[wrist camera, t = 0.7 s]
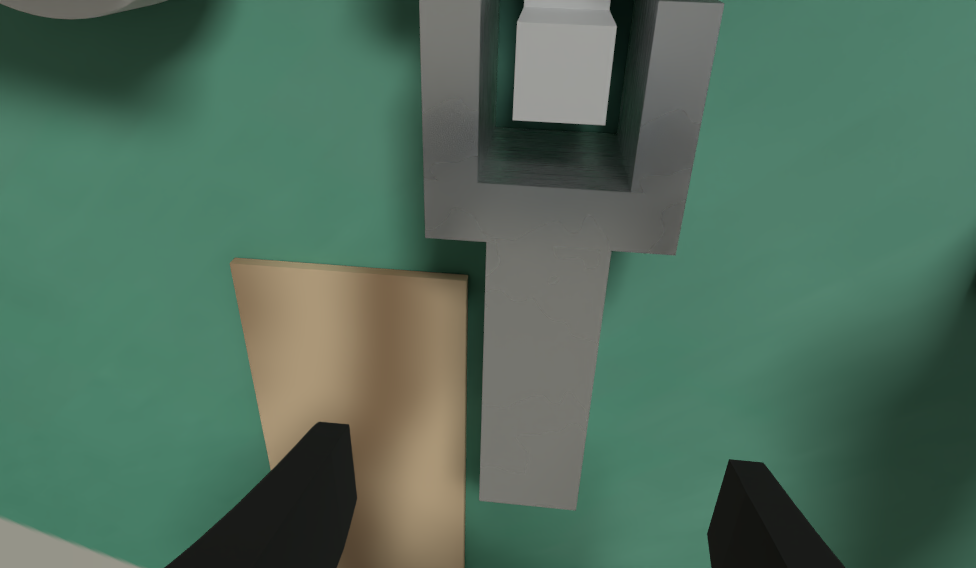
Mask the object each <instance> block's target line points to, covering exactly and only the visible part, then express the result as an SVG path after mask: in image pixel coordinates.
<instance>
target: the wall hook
mask: <svg viewBox="0 0 976 568" xmlns="http://www.w3.org/2000/svg"><path fill="white" fill-rule="evenodd" d="M164 1H167V0H0V4H3V5H5V6H8V7H10V8H13V9H16V10H19V11H22V12H25V13H29V14H33V15H37V16H42V17H48V18H56V19H87V18H94V17H100V16H104V15H109V14H113V13H118V12H122V11H127V10H131V9H136V8H140V7H145V6H150V5H154V4H158V3H162V2H164Z"/></svg>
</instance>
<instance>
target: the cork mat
mask: <svg viewBox="0 0 976 568" xmlns="http://www.w3.org/2000/svg"><path fill="white" fill-rule="evenodd" d="M230 267H231V272H232V277H233V282H234V287H235V292H236V297H237V302H238V307H239V312H240V317H241V322H242V327H243V332H244V337H245V342H246V347H247V352H248V357H249V362H250V367H251V372H252V378H253V383H254V388H255V393H256V398H257V403H258V408H259V413H260V418H261V423H262V428H263V433H264V438H265V443H266V448H267V453H268V458H269V463H270V468H271V470H272V469H273V468H274V467H275V466H276V465H277V464H278V463H279V462H280V461H281V460H282V459H283V458H284V457H285V456H286V455H287V454H288V453H289V451H290V450H291V449H292V448H293V447H294V446H295V445H296V444H297V443H298V442H299V441H300V440H301V439H302V438H303V436H304V435H305V434H306V433H307V432H308V431H309V430H310V429H311V428H312V427H313V426H314V425H315V424H316V423H318V422H329V423H340V424H349V427H350V436H351V445H352V454H353V464H354V473H355V482H356V491H357V501H356V505H355V509H354V513H353V517H352V521H351V525H350V529H349V532H348V536H347V540H346V543H345V547H344V550H343V553H342V555H341V558H340V561H339V563H338V566H337V568H465V493H466V411H467V328H468V275H461V274H448V273H434V272H421V271H407V270H394V269H380V268H367V267H353V266H340V265H326V264H313V263H299V262H286V261H272V260H258V259H245V258H234V259H233V260H232V261H231V262H230Z"/></svg>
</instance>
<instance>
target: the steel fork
mask: <svg viewBox="0 0 976 568" xmlns="http://www.w3.org/2000/svg"><path fill="white" fill-rule="evenodd" d="M499 4H500V0H419V12H420V51H421V90H422V130H423V169H424V208H425V238H435V239H450V240H464V241H478V242H486V275H485V311H484V347H483V384H482V420H481V456H480V492H479V501H487V502H497V503H507V504H517V505H527V506H537V507H547V508H557V509H567V510H576V505H577V498H578V491H579V483H580V476H581V469H582V462H583V454H584V447H585V440H586V432H587V425H588V418H589V411H590V403H591V396H592V389H593V382H594V374H595V367H596V360H597V352H598V345H599V338H600V331H601V323H602V316H603V309H604V301H605V294H606V287H607V280H608V272H609V265H610V258H611V251H621V252H636V253H650V254H664V255H676V250H677V245H678V239H679V234H680V229H681V224H682V219H683V214H684V209H685V203H686V198H687V193H688V188H689V183H690V178H691V172H692V167H693V162H694V157H695V152H696V147H697V142H698V136H699V131H700V126H701V121H702V116H703V111H704V106H705V100H706V95H707V90H708V85H709V80H710V75H711V70H712V64H713V59H714V54H715V49H716V44H717V39H718V33H719V28H720V23H721V18H722V13H723V8H724V3H723V2H721V1H719V0H634V6H633V14H632V21H631V29H630V37H629V45H628V52H627V60H626V68H625V76H624V83H623V91H622V99H621V107H620V114H619V122H618V130H617V134H610V133H593V132H575V131H557V130H539V129H521V128H503V127H496V97H497V66H498V35H499Z"/></svg>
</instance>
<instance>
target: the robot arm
mask: <svg viewBox="0 0 976 568" xmlns="http://www.w3.org/2000/svg"><path fill="white" fill-rule="evenodd" d="M356 501H357V491H356V482H355V473H354V464H353V454H352V445H351V436H350V427H349V424H340V423H329V422H318V423H316V424H315V425H314V426H313V427H312V428H311V429H310V430H309V431H308V432H307V433H306V434H305V435H304V436H303V438H302V439H301V440H300V441H299V442H298V443H297V444H296V445H295V446H294V447H293V448H292V449H291V450H290V451H289V453H288V454H287V455H286V456H285V457H284V458H283V459H282V460H281V461H280V462H279V463H278V464H277V465H276V466H275V467H274V468H273V469H272V470H271V471H270V472H269V473H268V474H267V475H266V476H265V477H264V478H263V479H262V480H261V481H260V482H259V483H258V484H257V485H256V486H255V487H254V488H253V489H252V490H251V491H250V492H249V493H248V494H247V495H246V496H245V497H244V498H243V499H242V500H241V501H240V502H239V503H238V504H237V505H236V506H235V507H234V508H233V509H232V510H231V511H229V512H228V513H227V514H226V515H225V516H224V517H223V518H222V519H221V520H219V521H218V522H217V523H216V524H215V525H214V526H213V527H212V528H211V529H209V530H208V531H207V532H206V533H205V534H204V535H203V536H202V537H201V538H200V539H198V540H197V541H196V542H195V543H194V544H193V545H191V546H190V547H189V548H188V549H187V550H185V551H184V552H183V553H182V554H181V555H179V556H178V557H177V558H176V559H175V560H173V561H172V562H171V563H170V564H168V565H167V566H166V567H165V568H337V566H338V563H339V561H340V558H341V555H342V553H343V550H344V547H345V543H346V540H347V536H348V532H349V529H350V525H351V521H352V517H353V513H354V509H355V505H356ZM707 536H708V544H709V552H710V560H711V567H712V568H845V567H844V565H843V564H842V563H841V562H840V560H839V559H838V558H837V557H836V556H835V554H834V553H833V552H832V551H831V550H830V548H829V547H828V546H827V545H826V543H825V542H824V541H823V540H822V538H821V537H820V536H819V535H818V533H817V532H816V531H815V530H814V528H813V527H812V526H811V524H810V523H809V522H808V521H807V519H806V518H805V517H804V515H803V514H802V513H801V512H800V510H799V509H798V508H797V506H796V505H795V504H794V502H793V501H792V500H791V498H790V497H789V496H788V494H787V493H786V492H785V490H784V489H783V488H782V486H781V485H780V484H779V482H778V481H777V480H776V479H775V477H774V476H773V475H772V473H771V472H770V471H769V469H768V468H767V467H766V466H765V464H764V463H762V462H752V461H741V460H730V459H729V462H728V465H727V468H726V472H725V475H724V478H723V482H722V485H721V489H720V492H719V495H718V499H717V502H716V506H715V509H714V512H713V516H712V519H711V523H710V526H709V529H708V533H707Z"/></svg>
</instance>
